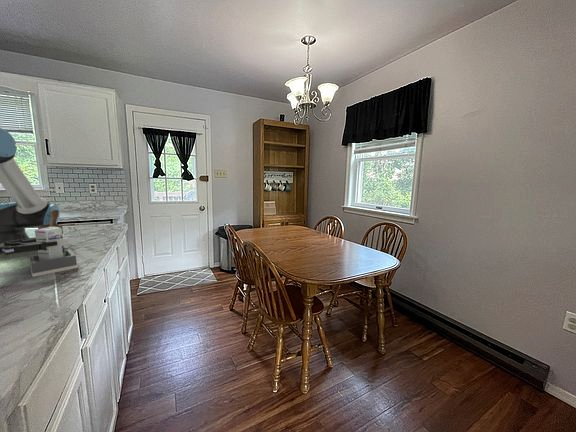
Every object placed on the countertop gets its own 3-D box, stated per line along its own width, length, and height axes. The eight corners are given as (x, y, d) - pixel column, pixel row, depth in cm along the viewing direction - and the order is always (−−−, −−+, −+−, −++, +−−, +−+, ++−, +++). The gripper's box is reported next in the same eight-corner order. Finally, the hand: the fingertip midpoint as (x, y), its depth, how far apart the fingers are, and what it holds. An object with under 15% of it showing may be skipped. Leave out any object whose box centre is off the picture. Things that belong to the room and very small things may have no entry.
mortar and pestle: (42, 249, 128) (36, 210, 124) (65, 246, 133) (60, 208, 130) (41, 255, 119) (34, 213, 116) (65, 252, 125) (60, 211, 121)
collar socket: (30, 268, 103) (28, 255, 102) (71, 260, 112) (70, 249, 112) (32, 276, 94) (30, 263, 93) (77, 267, 104) (76, 255, 103)
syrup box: (51, 266, 100) (46, 230, 97) (39, 265, 101) (34, 229, 98) (66, 261, 105) (62, 227, 103) (55, 260, 106) (50, 226, 104)
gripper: (-17, 255, 96) (63, 243, 112) (-20, 268, 82) (72, 253, 99) (-21, 235, 95) (61, 227, 111) (-25, 246, 81) (69, 234, 98)
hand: (66, 239), depth 105 cm, fingers closed on syrup box, 7 cm apart
